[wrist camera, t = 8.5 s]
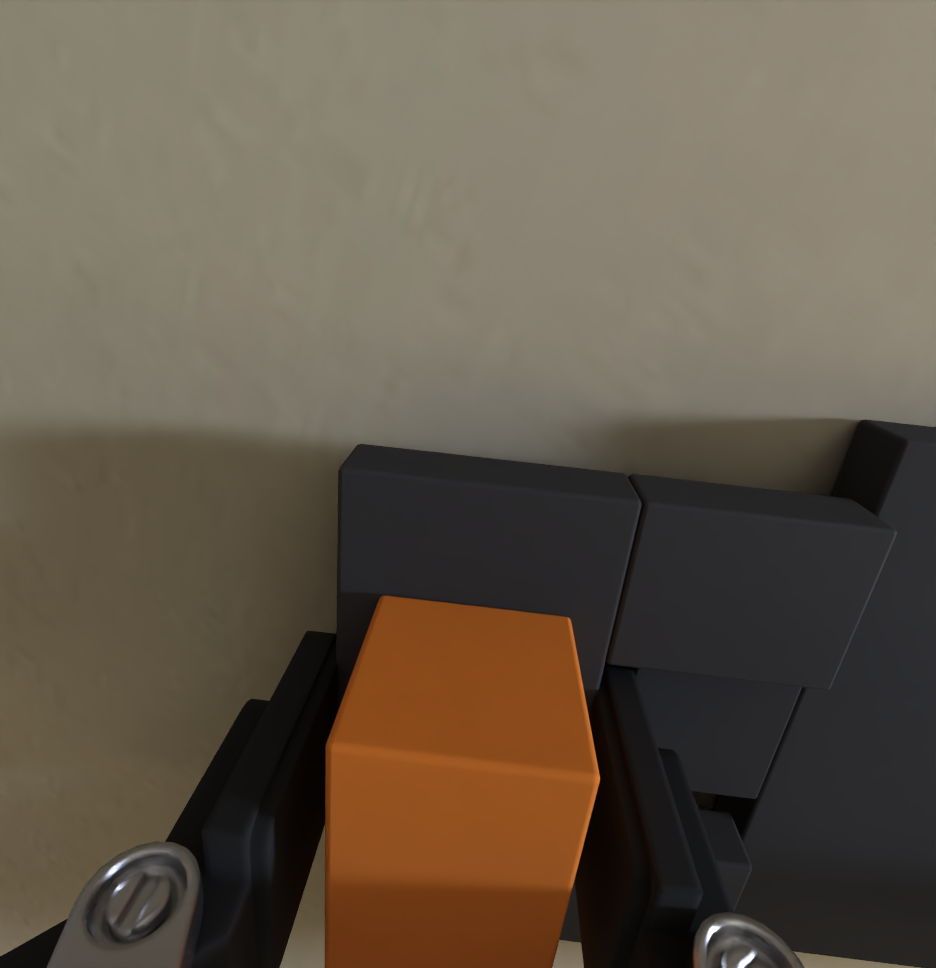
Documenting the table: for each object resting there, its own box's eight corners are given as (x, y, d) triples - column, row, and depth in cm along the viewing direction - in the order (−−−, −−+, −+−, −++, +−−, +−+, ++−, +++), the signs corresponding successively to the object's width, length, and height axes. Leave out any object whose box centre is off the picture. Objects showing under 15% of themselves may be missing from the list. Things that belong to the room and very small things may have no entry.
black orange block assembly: (357, 441, 9) (249, 576, 5) (852, 497, 9) (1116, 678, 5) (346, 856, 13) (279, 1114, 9) (696, 900, 13) (780, 1181, 9)
